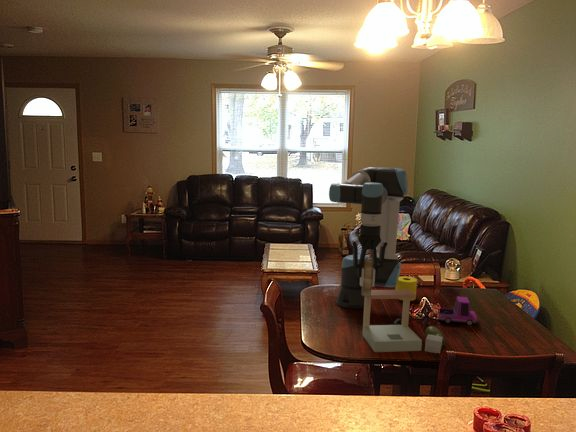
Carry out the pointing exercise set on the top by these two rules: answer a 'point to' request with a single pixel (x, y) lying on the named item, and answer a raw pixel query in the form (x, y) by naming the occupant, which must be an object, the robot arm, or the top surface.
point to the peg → (367, 277)
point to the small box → (433, 343)
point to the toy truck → (458, 312)
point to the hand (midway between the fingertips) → (366, 285)
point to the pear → (434, 332)
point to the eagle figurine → (399, 321)
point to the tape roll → (407, 285)
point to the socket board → (391, 338)
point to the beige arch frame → (388, 295)
